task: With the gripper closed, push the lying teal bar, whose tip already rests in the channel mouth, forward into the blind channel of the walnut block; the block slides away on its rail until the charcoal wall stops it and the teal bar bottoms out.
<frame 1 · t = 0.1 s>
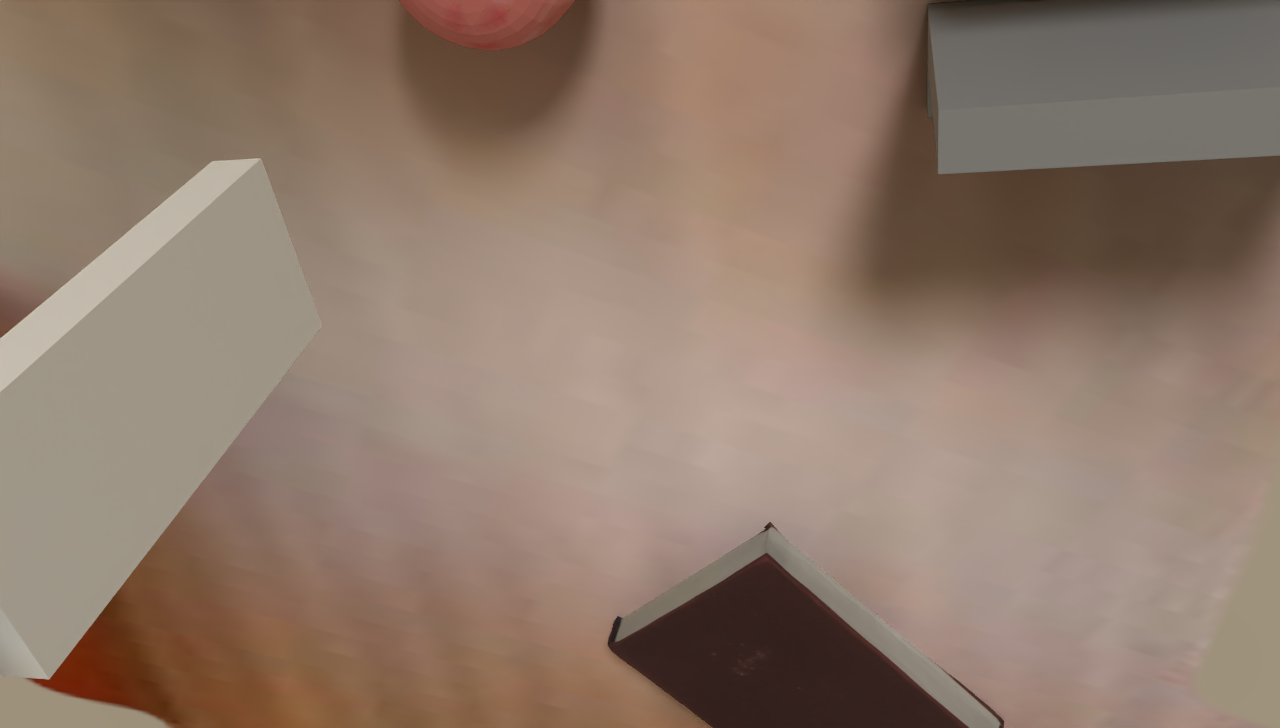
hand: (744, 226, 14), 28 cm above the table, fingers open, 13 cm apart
book: (808, 659, 61), on the table
wall: (1149, 12, 37), on the table
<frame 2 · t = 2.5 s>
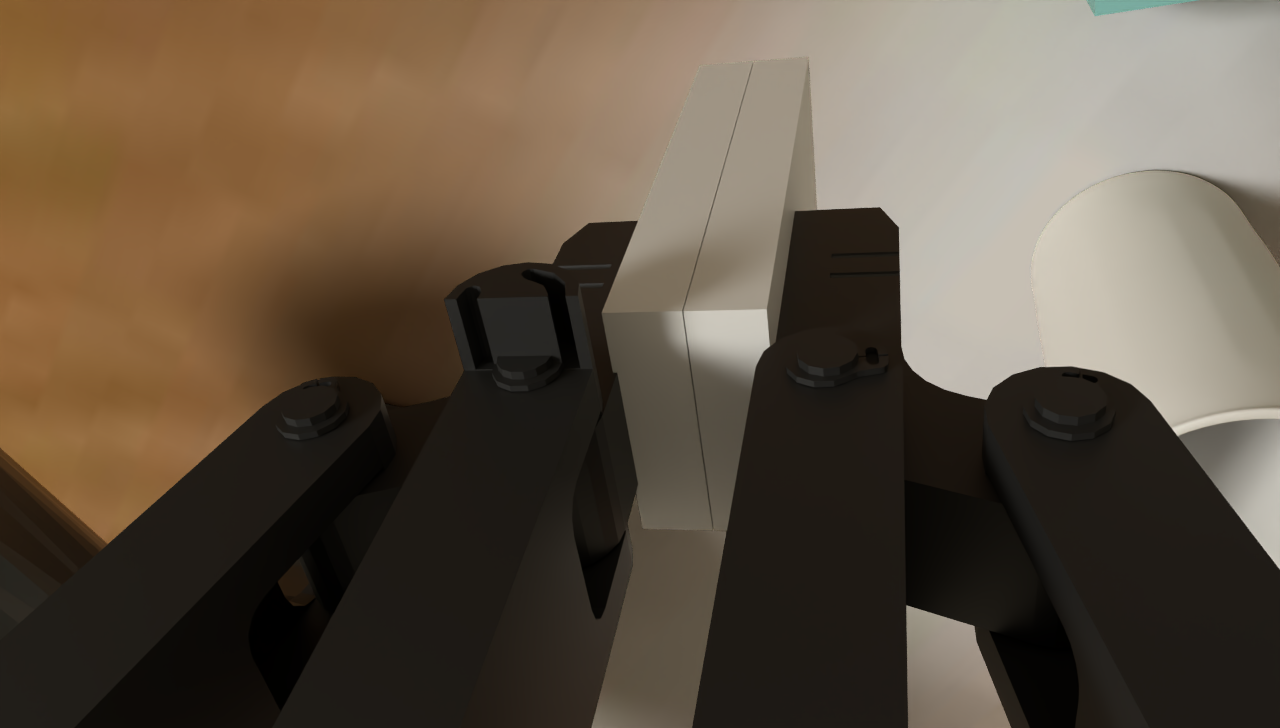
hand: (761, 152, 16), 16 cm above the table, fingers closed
mug: (1121, 302, 34), on the table
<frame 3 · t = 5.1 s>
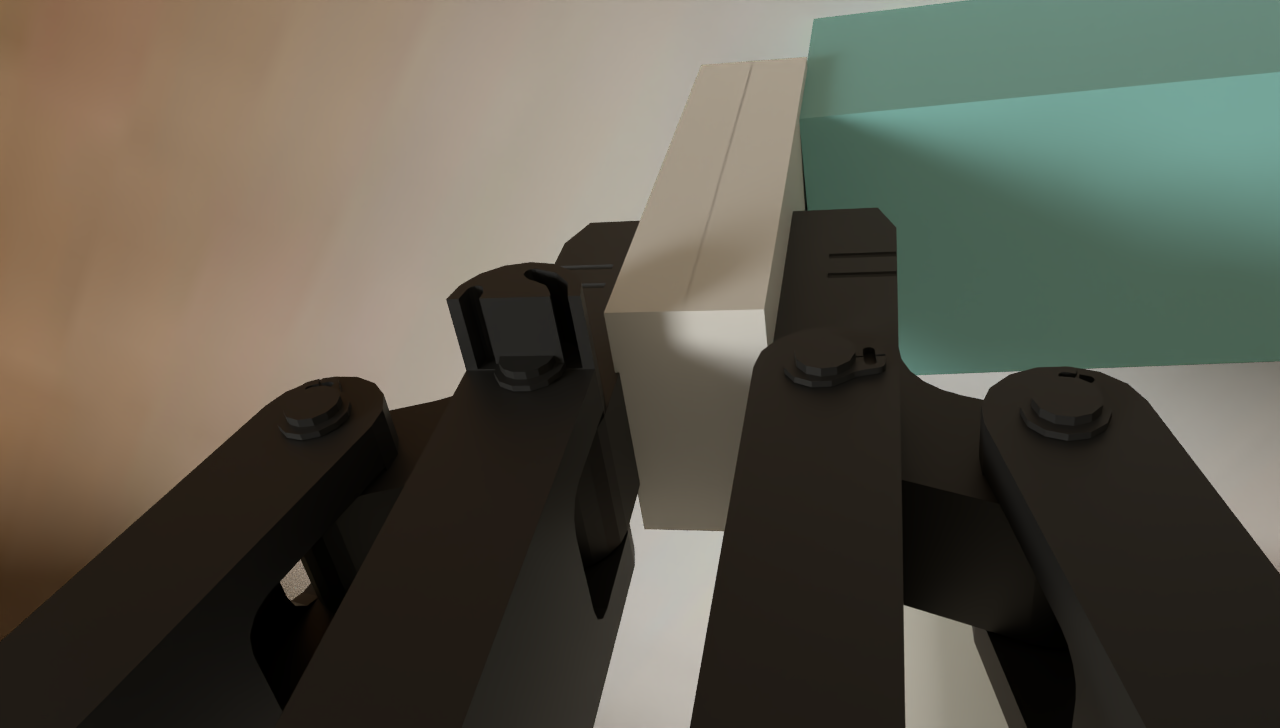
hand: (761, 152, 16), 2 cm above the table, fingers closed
mug: (918, 644, 24), on the table
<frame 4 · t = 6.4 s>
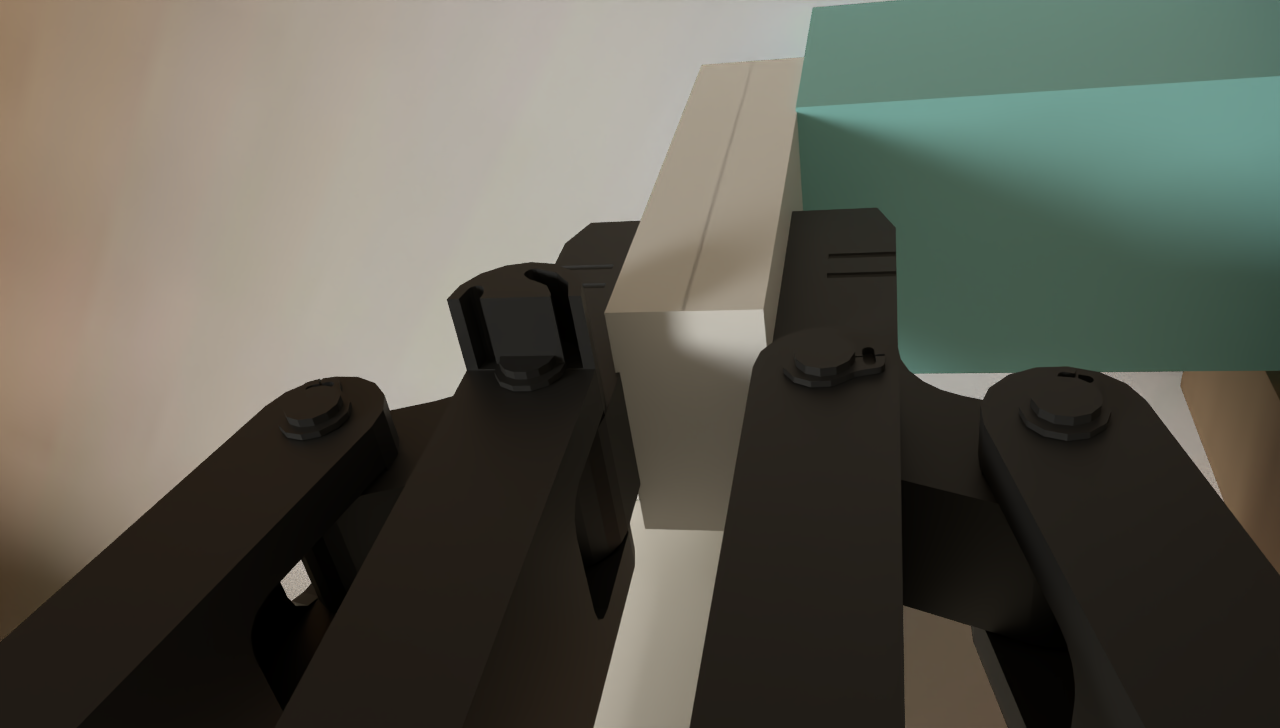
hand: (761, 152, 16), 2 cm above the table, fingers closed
mug: (702, 633, 25), on the table
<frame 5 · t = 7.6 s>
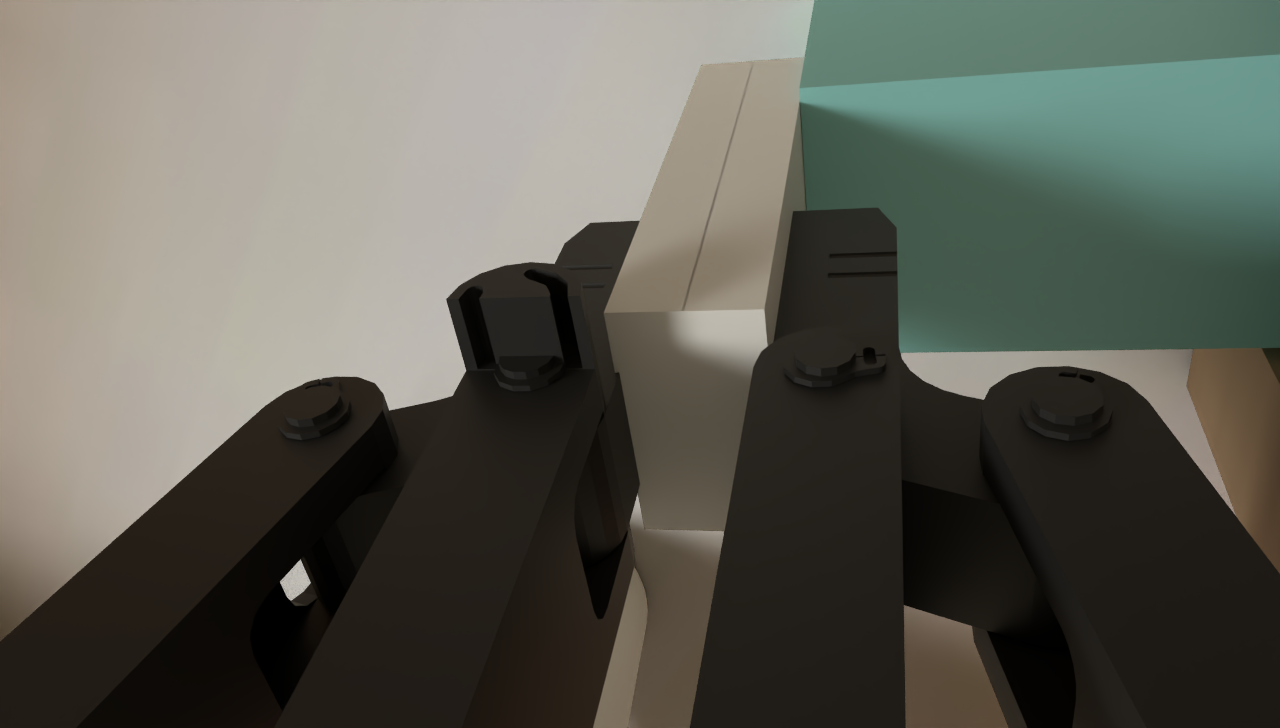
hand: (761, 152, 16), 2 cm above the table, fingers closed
mug: (525, 626, 26), on the table
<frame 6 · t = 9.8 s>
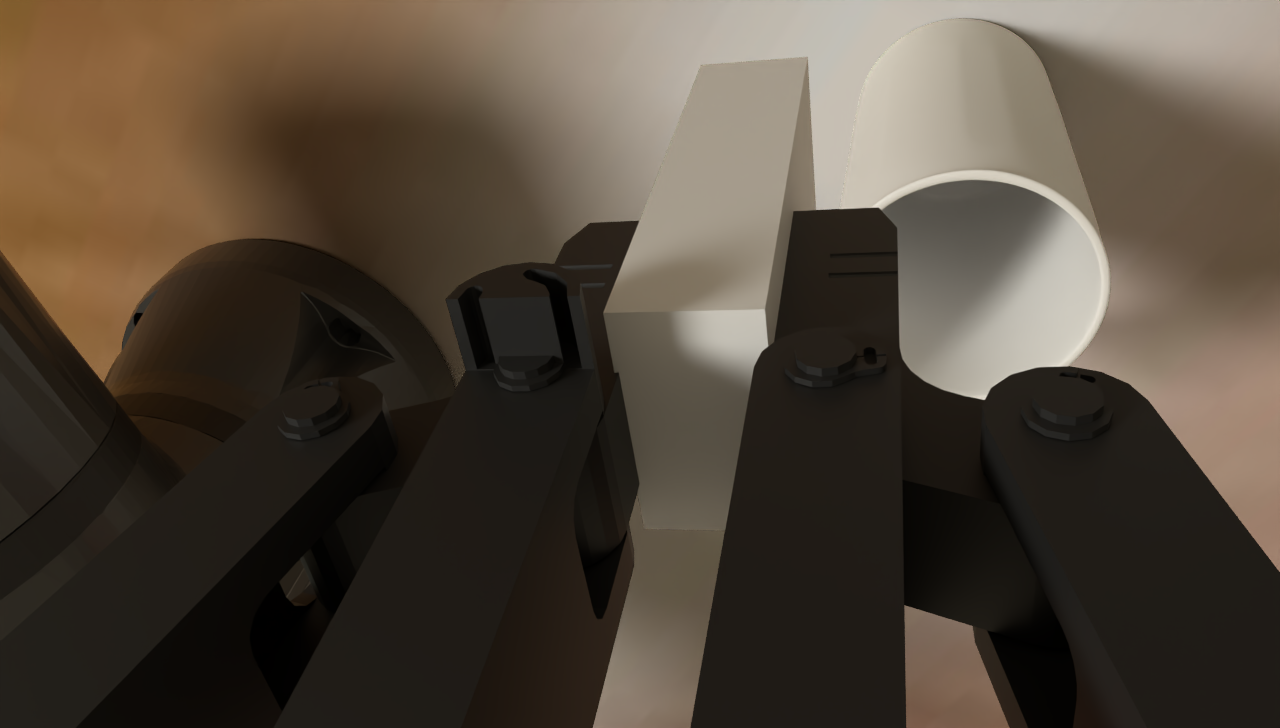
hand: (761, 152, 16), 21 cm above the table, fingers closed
mug: (942, 150, 37), on the table
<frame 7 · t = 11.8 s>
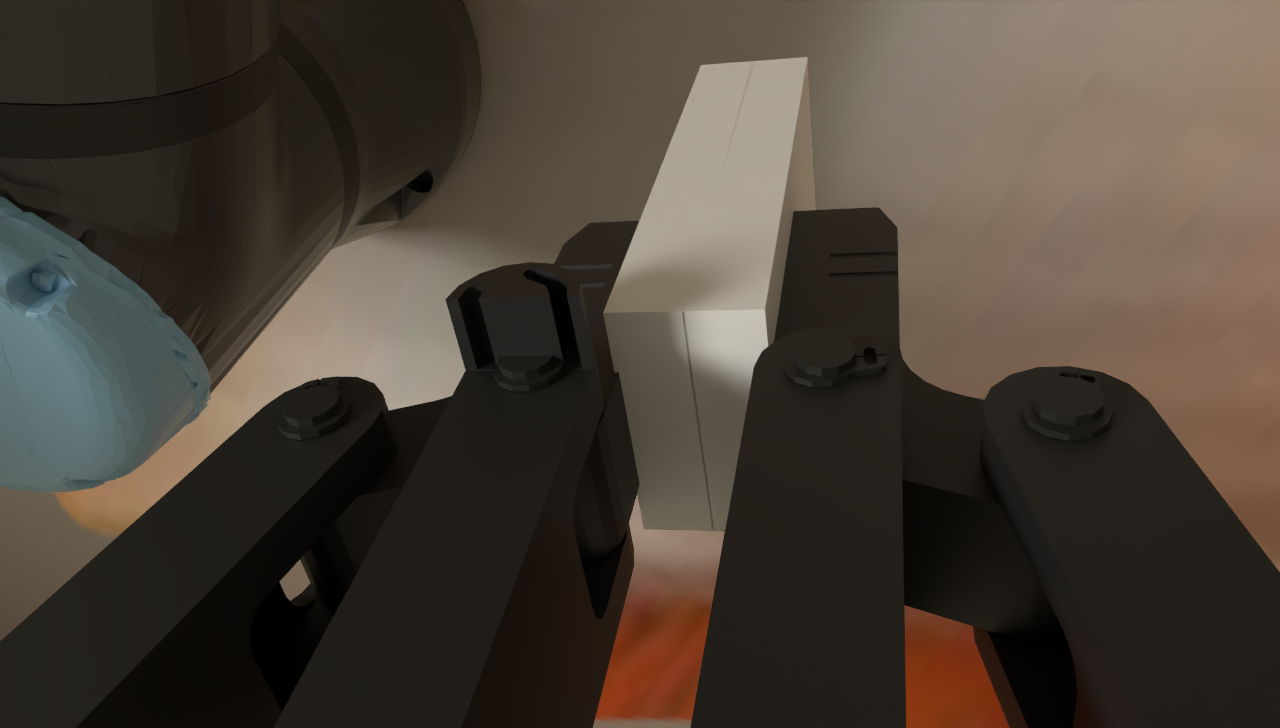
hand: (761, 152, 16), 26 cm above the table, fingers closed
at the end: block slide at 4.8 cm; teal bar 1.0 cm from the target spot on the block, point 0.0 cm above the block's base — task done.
